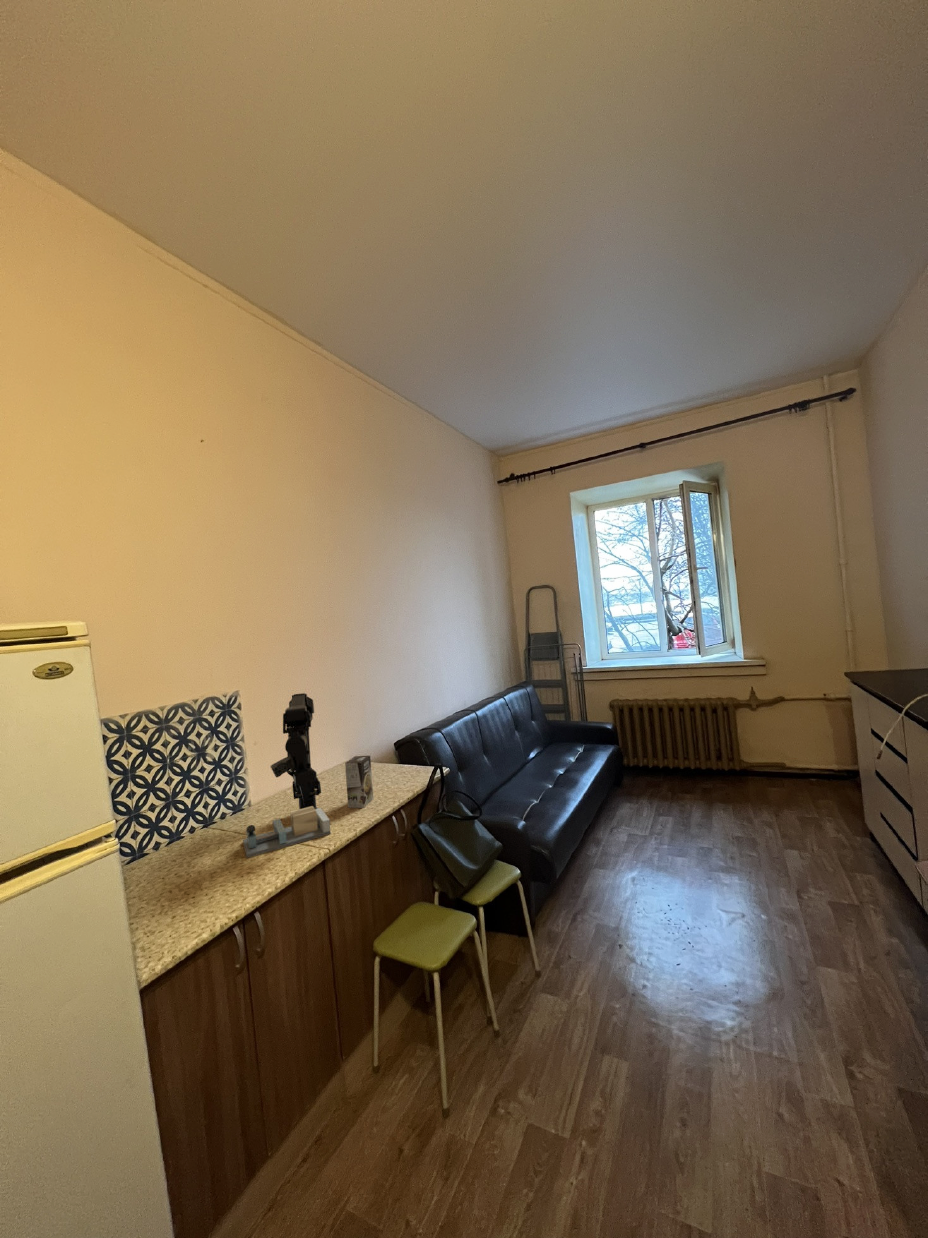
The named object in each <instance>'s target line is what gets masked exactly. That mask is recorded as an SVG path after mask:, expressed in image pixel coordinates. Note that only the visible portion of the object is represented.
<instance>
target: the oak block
mask: <svg viewBox="0 0 928 1238" xmlns="http://www.w3.org/2000/svg"><path fill="white" fill-rule="evenodd" d="M290 824H291V826H290V827H291V828H292V832H293V834H294V836H297V835H300V834H304V833H307V832H311V831H315V830H318V827H317V814H316V810H315V808H314V807H313V806H311V807H307V808H303V809H299V808H298V809H296V810H292V811H290Z"/></svg>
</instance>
